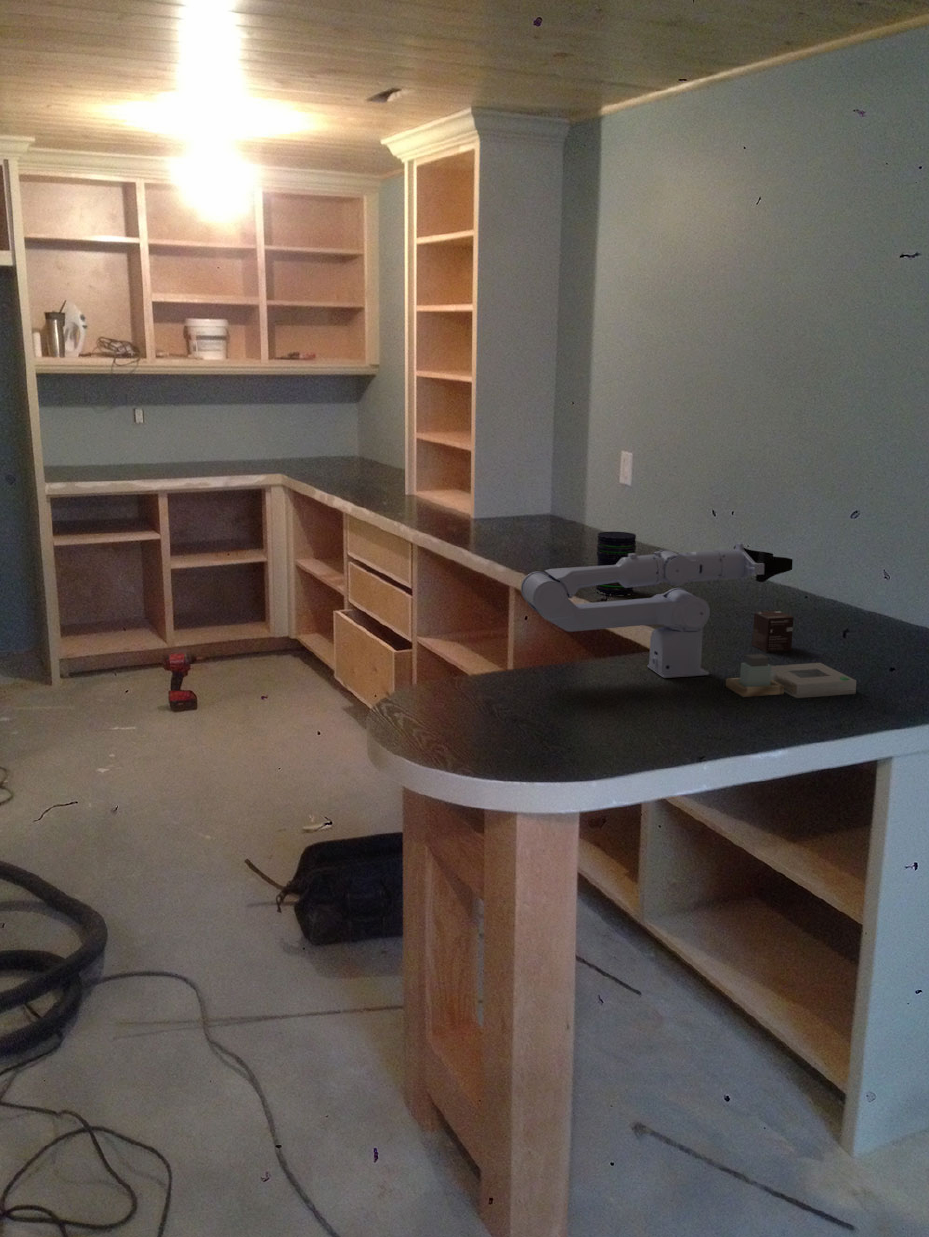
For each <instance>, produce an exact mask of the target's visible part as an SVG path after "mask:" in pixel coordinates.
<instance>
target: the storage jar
mask: <svg viewBox="0 0 929 1237" xmlns="http://www.w3.org/2000/svg"><path fill="white" fill-rule="evenodd" d="M636 539H637V535H636V534H635V533H632V532H628V531H627V532H626V531H603V532H598V533H597V543H596V556H597V565H596V566H605V565H615V564H616V563H617V562H618V561H619V560H620V559H621V558H623V557H628V554H629V553H635V554H636V550H637V549H636V548H637V545H636ZM596 589H597V590H599V591H600V592H603V593H606V594H611V595H628V594H632V593H633V594H634V587H628V588H625V587H623V586H622V585H621V584H620V583H619V582H615V583H609V584H602V585H596V586H595V590H596ZM633 594H632V595H633Z"/></svg>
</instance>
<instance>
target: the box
mask: <svg viewBox="0 0 929 1237" xmlns="http://www.w3.org/2000/svg"><path fill="white" fill-rule="evenodd" d="M793 629H794V616H792V615H790V614H787V613H785V612H782V611H779V610H778V611H776V610H775V611H771V610H769V611H767V610H766V611H765V610H764V611H754V614H753V624H752V634H751V635H752V636H751V646H753V647H754V648H757V649H759V650H761V651H763V652H764V653H776V652H778V653H779V652H790V651H792V642H793V632H794V631H793Z"/></svg>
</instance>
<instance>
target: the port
mask: <svg viewBox="0 0 929 1237" xmlns="http://www.w3.org/2000/svg"><path fill="white" fill-rule="evenodd" d="M771 666H772V667H771V679H772V680H774V681H776V682H778V683H779V684H781V685H783V686H784V693H786V694H789V696H792V697H794V698H795V699H802V698H804V699H805V698H817V697H829V696H832V697H833V696H842V695H843V696H844V695H855V694H856V690H857V680H856V679H855V678H852V677H851V676H848V675H846V674H844V673H842V672H840V671H839V670H836V669H834V668H832V667H830V666H827V665H825V664H824V663H821V662H813V663H811V662H809V663H795V664H785V665H784V664H782V665H781V664H780V665H771Z"/></svg>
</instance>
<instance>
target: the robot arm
mask: <svg viewBox="0 0 929 1237" xmlns="http://www.w3.org/2000/svg"><path fill="white" fill-rule="evenodd" d="M793 561H794V560H793V558H790V557H782V556H774V553H772V552H768V551H761V550H760V551H758V550H753V549H750V548H745V547H744V544H743V543H742V542H736V543H735V546H734V547H733V548H731V549H716V550H715V549H714V550H713V549H712V550H710V549H709V550H696V551H693V550H692V551H690V552H689V551H687V552H686V551H685V552H679V553H676V552H675V551H671V550H666V549H665V550H664V549H660V550H657V551H654V552H653V554H645V555H644V554H643V555H638V553H636V552H635V553H629V554H628V557H623V558H621V559H620V560H619V561H618V562H617V563H616V564H615V565H605V566H597V565H592V566H589V565H588V566H576V567H574V566H573V567H561V568H549V569H545V570H544V571H532V572H530V573H529V574H527V575H526V576H525V577H524V578H523V580H522V582H521V585H520V593H521V596H522V598H523V599H524V600H525V601H526V603H527V604H528V606H530V607H531V609H532V610H534V611H535V612H536V613H538V615H540V616H542V618H543V619H545V620H546V621H548V622H550V623H552V624H554V625H555V626H557V627H559V628H560V629H561V630H564V631H566V632H581V631H591V630H594V631H595V630H605V629H615V628H626V627H627V628H628V627H639V626H649V625H661V626H662V627H659V628H653V630H652V631H651V634H650V643H649V644H650V645H649V660H648V662H649V664H647V668H649V670H651V671H653V672H654V673H655V674H657V675H659V676H660V677H662V678H663V679H669V678H683V677H684V678H686V677H697V676H698V677H700V676H701V677H702V676H709V675H710V673H709V672H708V671H707V670H705V669H704V668H702V667H701V665H702V651H703V634H704V627H705V625H706V624H707V622H708V621H709V618H710V614H711V613H710V611H711V609H710V606H709V604H708V602H707V601H706V600H704V599H703V598H701V597H697V596H696V595H694V594H692V593H691V592H689V591H687V590H686V589H684V588H682V587H681V586H683V585H684V584H686V583H687V582H707V581H709V582H710V581H722V580H723V581H725V580H737V581H742V580H745V579H747V578H749V577H752V576H755V581H756V582H758V583H764V582H767V581H768V580H769V579H771V578H773V577H774V576H777V575H780V574H783V573H787V572H790V571H792V570H793ZM615 582H619V583H620V584H621V585H622V586H623V587H625V588H628V587H633V588H635V587H636V588H637V587H646V586H653V585H660V584H661V583H666V584H668V585H671V586H675V587H674V588H671V589H669V590H668V591H666V592H664V593H657V594H655V595H653V596H652V597H646V598H645V597H644V598H635V599H621V600H620V599H619V600H610V601H598V602H597V601H596V602H586V603H574V602H573V601H572V600H571V599H573V598H574V596H575V595H576V593H577V592H578V591H579V590H580V589H582V588H587V587H588V588H589V587H594V586H595V587H596V585H602V584H609V583H615Z"/></svg>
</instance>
